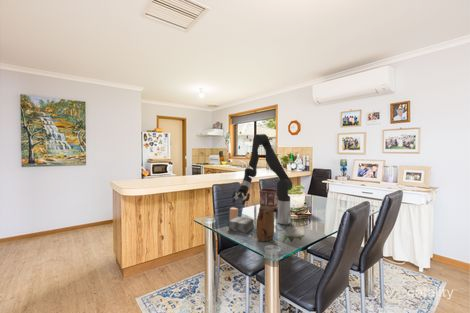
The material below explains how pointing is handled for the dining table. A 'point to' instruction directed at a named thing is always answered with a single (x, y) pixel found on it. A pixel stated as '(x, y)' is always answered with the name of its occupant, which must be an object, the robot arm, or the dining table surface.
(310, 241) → the dining table surface
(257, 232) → the block
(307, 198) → the candy box
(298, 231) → the dining table surface
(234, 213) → the terracotta block
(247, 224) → the charcoal plinth
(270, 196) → the reddish brown crate
